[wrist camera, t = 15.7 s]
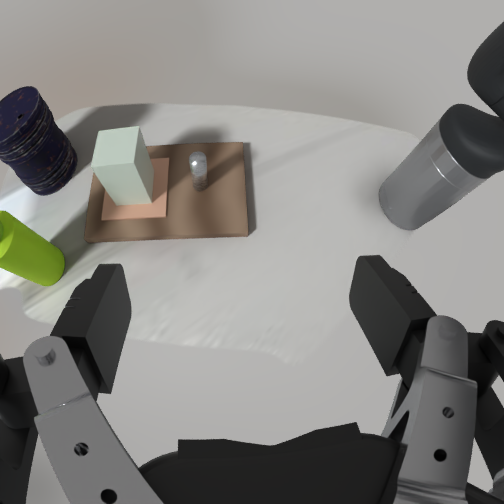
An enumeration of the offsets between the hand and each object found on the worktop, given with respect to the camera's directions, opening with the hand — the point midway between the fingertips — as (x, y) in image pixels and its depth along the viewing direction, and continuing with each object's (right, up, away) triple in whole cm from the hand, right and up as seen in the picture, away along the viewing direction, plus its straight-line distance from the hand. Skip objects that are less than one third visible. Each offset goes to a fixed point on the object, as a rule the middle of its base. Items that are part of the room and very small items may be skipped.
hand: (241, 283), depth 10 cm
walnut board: (-12, +9, +32) cm, 35 cm away
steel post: (-7, +10, +31) cm, 33 cm away
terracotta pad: (-15, +10, +30) cm, 35 cm away
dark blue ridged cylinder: (-32, +14, +32) cm, 47 cm away
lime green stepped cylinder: (-29, -1, +27) cm, 40 cm away
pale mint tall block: (-15, +10, +30) cm, 35 cm away
